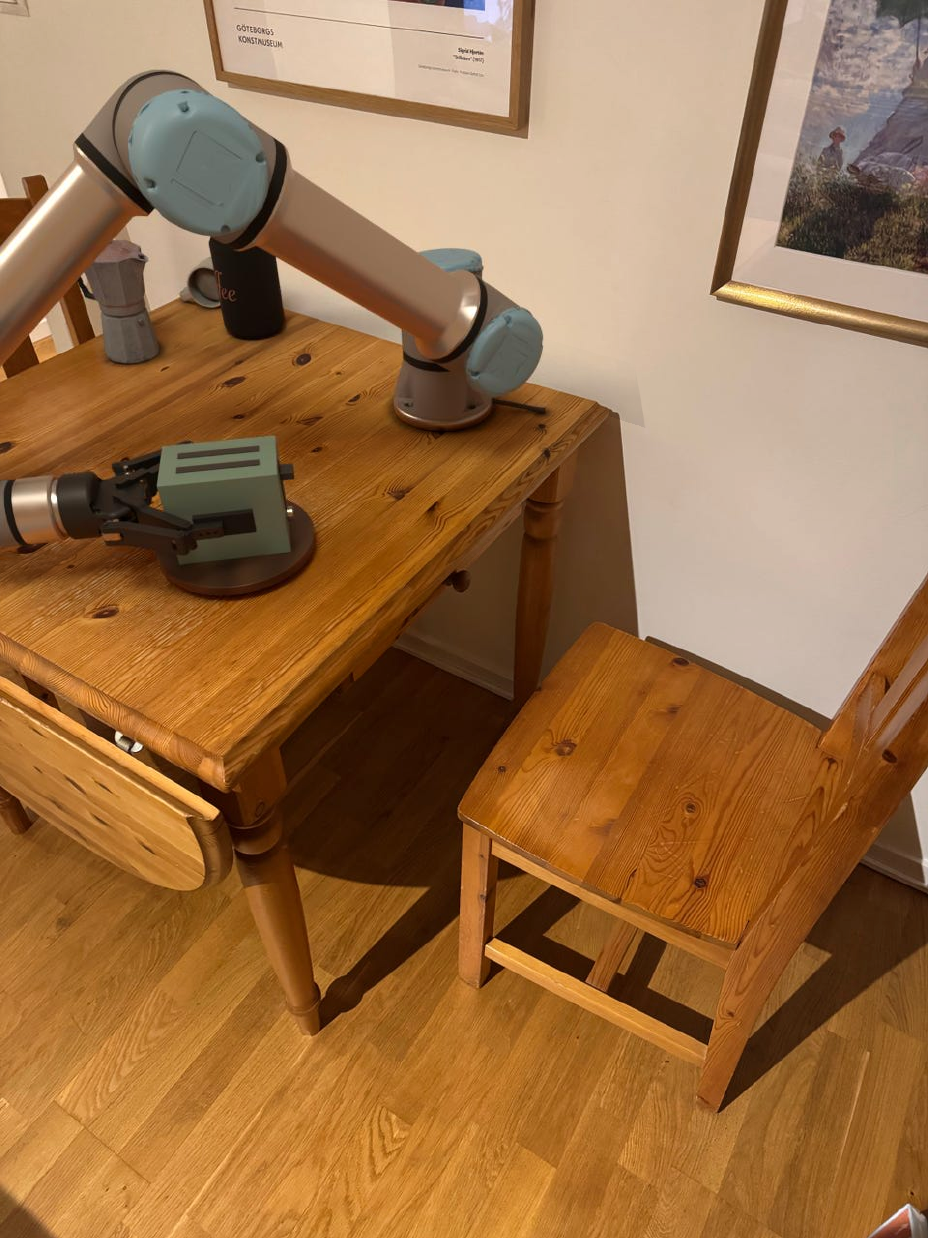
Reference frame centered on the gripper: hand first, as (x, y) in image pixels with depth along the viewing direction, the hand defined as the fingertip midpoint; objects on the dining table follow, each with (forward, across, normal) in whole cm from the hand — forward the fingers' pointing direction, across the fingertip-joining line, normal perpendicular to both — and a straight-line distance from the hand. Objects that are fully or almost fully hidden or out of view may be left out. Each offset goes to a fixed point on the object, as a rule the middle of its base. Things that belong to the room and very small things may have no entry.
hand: (254, 486), depth 101 cm
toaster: (-3, 0, -8) cm, 9 cm away
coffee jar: (0, -65, -10) cm, 66 cm away
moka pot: (-22, -60, -9) cm, 64 cm away
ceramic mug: (-9, -80, -10) cm, 81 cm away
